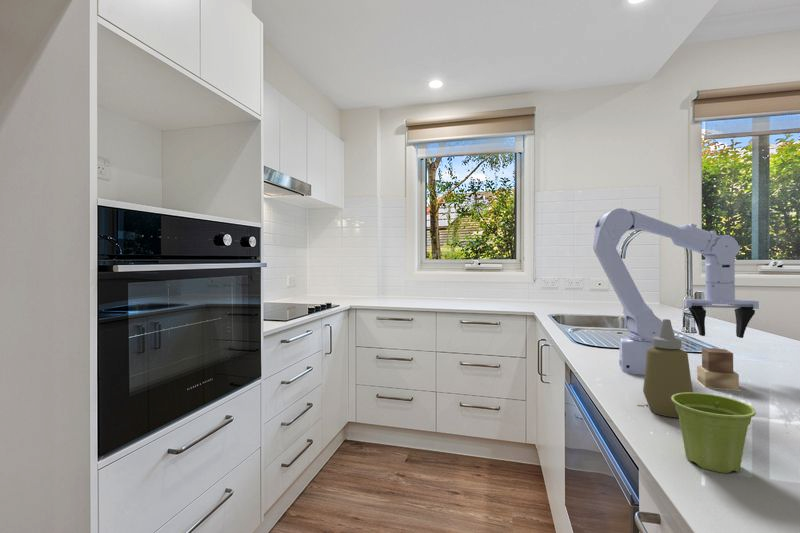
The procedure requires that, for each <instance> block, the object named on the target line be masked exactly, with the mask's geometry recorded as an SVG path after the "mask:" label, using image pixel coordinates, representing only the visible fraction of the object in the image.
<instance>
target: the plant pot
mask: <svg viewBox="0 0 800 533" xmlns="http://www.w3.org/2000/svg"><path fill="white" fill-rule="evenodd" d="M671 400H672V402H673V403H674V404H675V407H676V411H677V412H678V415H679V417H678V418H679V425H680V430H681V436H682V441H683V442H682V443H683V447H684V452H685V453H684V454H685V457H686V458H687V460H688V461H689V462H694V463H695V464H697V465H698V466H699V467H701V468H702V469H705V470H708V471H712V472H717V473H722V474H723V473H724V474H729V473H731V472H734V471H735V472H739V471H740V470H741V465H742V461H743V460H742V459H743V454H744V449H745V448H744V447H745V443H746V438H747V432H748V427H749V426H750V425H751V422H752V418H753V417H755V416H756V415H757V414H756V413H757V411H756V409H755V408H754V407H753V406H751V405H750V404H747V402H743V401H740V400H738V399H734V398H731V397H727V396H721V395H717V394H711V393H705V392H704V393H703V392H702V393H701V392H693V393H690V392H686V393H677V394H674V395H672V397H671Z"/></svg>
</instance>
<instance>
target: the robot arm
mask: <svg viewBox="0 0 800 533" xmlns="http://www.w3.org/2000/svg"><path fill="white" fill-rule="evenodd" d="M697 226H698V225H697V224H694V223H689V224H685V223H684V224H681V225H679V226H676V225H673V224H671V223H667V222H665V221H663V220H660V219H657V218H654V217H651V216H648V215H646V214H643V213H640V212H638V211H635V210H634V211H633V210H628V209H626V208H621V207H619V208H614V209H612V210H610V211H609V212H606V213H604V214H601V216H599V218H598V220H597V221H596V224H595V225H594V237H593V238H594V239H593V246H592V249H593V252H594V254H595V255H596V258H597V259H598V261H599V263H600V265H601V267H602V269H603V270H604V273H605V275H606V277H607V279H608V281H609V282H610V285H611V286H612V288H613V290H614V292H615V294H616V296H617V298H618V300H619V302H620V304H621V305H622V310H623V312H622V313H623V314H624V317H625V326H626V329H627V330H628V331H629V334H628V338H627V337H624V338H622V337H621V338H620V339H619V344H618V346H619V359H618V362H619V363H618V364H619V365H618V366H619V368H620V370H621V371H622V373H624V374H635V375H644V376H645V368H646V358H647V350H648V349H649V348H652V347H655V346H653V337H658V336H659V334H660V330H661V325H662V321H663V319H662V320H661V318H659V317H658V316H657V315H655V313H654V312H653V309H652V308H651V307H650V306H649V305H648V304H647V302H645V301H644V298H643V297H642V294H641V293H640V291H639V289H638V287H637V286H636V285H637V284H636V283H635V282H634V280H633V278H632V276H631V274H630V272H629V270H628V269H627V266H626V265H625V262H624V260H623V259H622V257H621V255H620V253H619V251H618V250H617V248H618V245H619V243H620V241H621V239H622V237H623V236H624V235H625V234H626V233H627V232H630V231H636V230H640V231H644V232H647V233H650V234H655V235H658V236H662V237H665V238H669V239H670V240H671V241H672V244H673V245H674V246H676V247H677V246H678V247H681V248H684V249H687V250H690V251H693V252H696V253H700V254H701V255H702V256H703V257H704V258H705V261H704V262H705V265H704V266H705V271H704V272H705V273H704V274H705V298H704V299H703V298H701V299H700V298H697V299H696V298H694V299H693V298H691V299H689V298H685V299H684V307H686V308H688V311H689V312H690V314H691V316H692V317H693V320H694V322H695V324H696V327H697V330H698V335H699V336H701V337H706V326H705V324H706V323H705V322H706V321H705V320H706V313H707V311H706V310H705V309H704V308H716V309H717V308H719V309H720V308H722V309H734V314H735V323H736V324H735V325H736V326H735V328H736V329H735V331H736V332H735V333H736V334H735V336H736V337H737V338H739V339H743V338H744V336H745V332H746V329H747V327H748V325H749V323H750V321H751V319H752V318H753V316H754V315H755V313H756V310H757V309H758V310H759V308H760V306H759V305H760V302H759V300H750V299H749V300H747V299H736V284H735V283H736V282H735V281H736V278H735V277H736V276H735V275H736V273H735V272H736V271H735V268H736V267H735V262H736V256H737V255H738V254H739V252H740V250H741V245H739V242H738V241H737V240H736V239H735V237H733V236H731V235H728V234H726V235H725V234H723V235H718V234H717V231H715V230H710V231H709V230H706V229H702V228H699V227H697Z"/></svg>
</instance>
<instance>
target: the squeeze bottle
mask: <svg viewBox="0 0 800 533" xmlns="http://www.w3.org/2000/svg"><path fill="white" fill-rule="evenodd" d="M653 346H655V347H652V348H649V349H648V350H647V358H646V368H645V375H644V377H643V378H644V379H643V386H642V389H643V390H642V392H643V395H644V398H645V400H646V402H647V405H648V407H649V410H650V411H651V412H653V413H655V414H658V415H660V416H665V417H669V418H679V415H678V412H677V411H676V407H675V404H674V403H673V402H672V400H671V397H672V395H674V394H677V393H686V392H690V393H694V392H693V385H692V384H693V383H692V377H691V371H690V362H689V355H688V352H686V351H685V350H683V349H682V347H683V346H682V339H681V338H678V337H676V336H675V332H674V329H673V326H672V321H671V319H667V318H666V319H665V318H664V319H663V318H662V325H661V330H660V334H659V336H658V337H653Z"/></svg>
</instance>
